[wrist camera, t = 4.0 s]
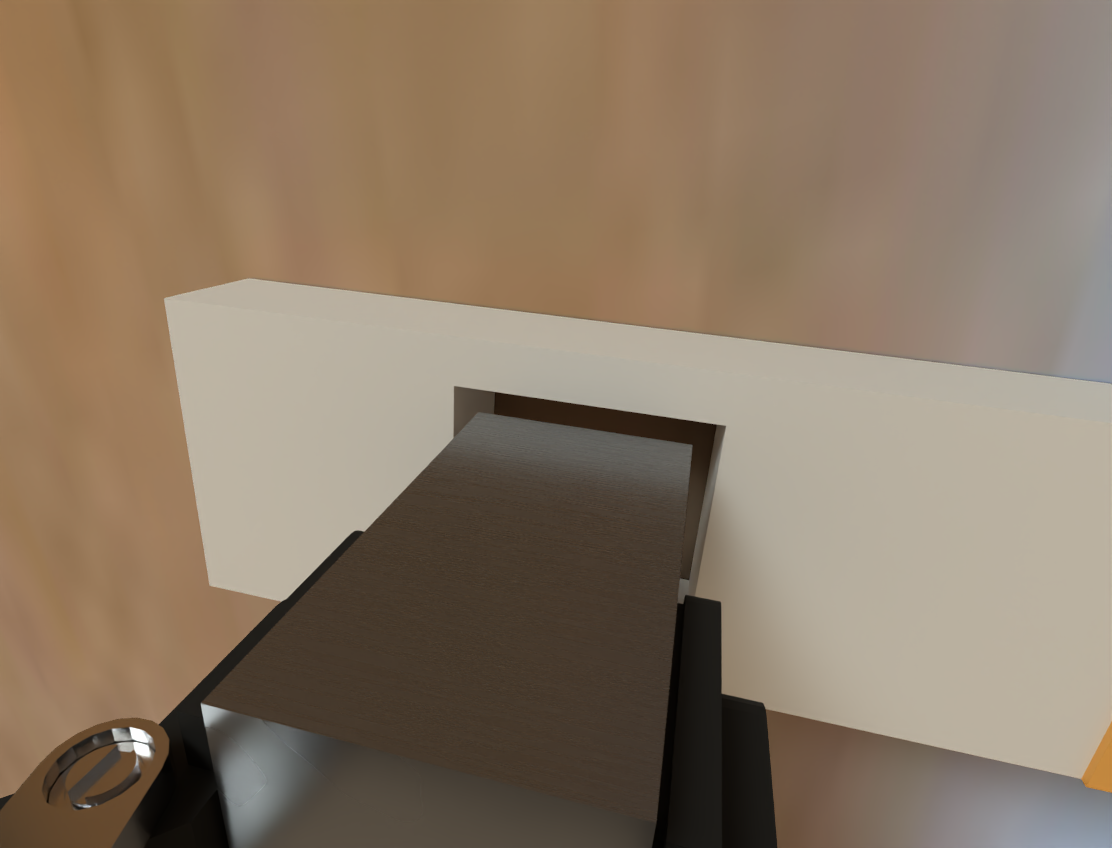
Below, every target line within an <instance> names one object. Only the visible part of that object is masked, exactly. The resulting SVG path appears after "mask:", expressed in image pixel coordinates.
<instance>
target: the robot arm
mask: <svg viewBox="0 0 1112 848" xmlns="http://www.w3.org/2000/svg"><path fill="white" fill-rule="evenodd" d="M364 532H365V531H359V530H357V531H354V532H352V533H351V534H350V535H349V536H348V537H347V538H346V539H345V540H344V541H343V542H342V543H341V544H340V545H339V546H338V547H337V548H336V549H335V550H334V551H333V552H332V553H331V554H330V555H329V556H328V557H327V558H326V559H325V560H324V561H323V562H322V563H321V564H320V565H319V566H318V567H317V568H316V569H315V570H314V571H313V573H312V574H311V575H310V576H309V577H308V578H307V579H306V580H305V581H304V582H303V583H302V584H301V585H300V586H299V587H298V588H297V589H296V590H295V591H294V592H293V593H292V594H291V595H290V596H289V597H288V598H287V599H286V600H283V601H282V602H281V603H280V604H278V605H277V606H276V607H275V608H274V609H273V610H272V611H271V612H270V613H269V614H268V615H267V616H266V617H265V618H264V619H263V620H262V621H261V622H260V623H259V624H258V625H257V626H256V627H255V628H254V629H253V630H252V631H251V632H250V633H249V634H248V635H247V636H246V637H245V638H244V639H243V640H242V641H241V642H240V643H239V644H238V645H237V646H236V647H235V648H234V649H233V650H232V651H231V652H230V653H229V654H228V655H227V656H226V657H225V658H224V659H223V660H222V661H221V662H220V663H219V664H218V665H217V666H216V667H215V668H214V669H213V670H212V671H211V672H210V673H209V674H208V675H207V676H206V677H205V678H204V679H203V680H202V681H201V682H200V683H199V684H198V686H197V687H196V688H195V689H194V690H193V691H192V692H191V693H190V694H189V695H188V696H187V697H186V698H185V699H184V700H183V701H182V702H181V703H180V704H179V705H178V706H177V707H176V708H175V709H174V710H173V711H172V712H171V713H170V714H169V715H168V716H167V717H166V718H165V719H164V720H163V721H162V722H161V723H160V724H159V725H158V724H156V723H155V722H153V721H151V720H146V719H140V718H125V719H116V720H112V721H108V722H105V723H101V724H97V725H95V726H93V727H91V728H88V729H86V730H84V731H82V732H80V733H78V734H76V735H74V736H73V737H71V738H70V739H68V740H67V741H65V742H64V743H62V744H61V745H59V746H58V747H56V748H55V749H54V750H53V751H52V752H51V753H50V754H49V755H48V756H47V757H46V758H45V759H44V760H43V761H42V762H41V763H40V764H39V765H38V766H37V767H36V769H35V770H34V771H33V772H32V773H31V774H30V776H29V777H28V778H27V779H26V780H25V782H24V783H23V784H22V785H21V786H20V788H19V789H18V790H17V791H16V792H15V793H14V794H12V795H9V796H6V797H3V798H0V848H229V845H228V840H227V835H226V830H225V825H224V820H223V815H222V810H221V804H220V799H219V794H218V789H217V784H216V779H215V774H214V769H213V764H212V759H211V754H210V749H209V744H208V739H207V734H206V729H205V724H204V719H203V713H202V708H201V702H202V701H203V700H204V699H205V698H206V697H207V696H208V695H209V694H210V693H211V692H212V691H213V690H214V689H215V688H216V687H217V686H218V684H219V683H220V682H221V681H222V680H223V679H224V678H225V677H226V676H227V675H228V674H229V673H230V672H231V671H232V670H233V669H234V668H235V667H236V666H237V665H238V664H239V662H240V661H241V660H242V659H243V658H244V657H245V656H246V655H247V654H248V653H249V652H250V651H251V650H252V649H253V648H254V647H255V646H256V645H257V644H258V643H259V642H260V640H261V639H262V638H263V637H264V636H265V635H266V634H267V633H268V632H269V631H270V630H271V629H272V628H273V627H274V626H275V625H276V624H277V623H278V622H279V621H280V620H281V618H282V617H283V616H284V615H285V614H286V613H287V612H288V611H289V610H290V609H291V608H292V607H293V606H294V605H295V604H296V603H297V602H298V601H299V600H300V599H301V598H302V596H303V595H304V594H305V593H306V592H307V591H308V590H309V589H310V588H311V587H312V586H313V585H314V584H315V583H316V582H317V581H318V580H319V579H320V578H321V577H322V576H323V574H324V573H325V572H326V571H327V570H328V569H329V568H330V567H331V566H332V565H333V564H334V563H335V562H336V561H337V560H338V559H339V558H340V557H341V556H342V555H343V554H344V552H345V551H346V550H347V549H348V548H349V547H350V546H351V545H352V544H353V543H354V542H355V541H356V540H357V539H358V538H359V537H360V536H361V535H362V534H363V533H364ZM652 848H777V838H776V826H775V814H774V802H773V789H772V777H771V765H770V753H769V741H768V729H767V717H766V710H765V706H764V704H763V703H762V702H757V701H753V700H748V699H744V698H739V697H735V696H730V695H726V694H722V624H721V602H720V601H715V600H710V599H705V598H700V597H695V596H690V595H685V597H684V602H683V604H681V603H677V613H676V623H675V633H674V644H673V654H672V665H671V675H670V686H669V696H668V707H667V717H666V727H665V738H664V748H663V759H662V769H661V780H660V790H659V801H658V811H657V821H656V828H655V833H654V838H653V844H652Z"/></svg>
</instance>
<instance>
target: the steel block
mask: <svg viewBox="0 0 1112 848" xmlns="http://www.w3.org/2000/svg"><path fill="white" fill-rule="evenodd" d="M691 456H692V445H690V444H683V443H677V442H670V441H664V440H657V439H651V438H644V437H638V436H631V435H625V434H618V433H612V432H605V431H599V430H592V429H586V428H579V427H573V426H566V425H560V424H553V423H547V422H540V421H534V420H527V419H521V418H514V417H508V416H501V415H495V414H488V413H482V412H478V413H477V414H476V415H475V416H474V417H473V418H472V419H471V420H470V422H469V423H468V424H467V425H466V426H465V427H464V428H463V429H462V430H461V431H460V432H459V433H458V434H457V435H456V436H455V437H454V438H453V439H452V440H451V441H450V442H449V444H448V445H447V446H446V447H445V448H444V449H443V450H442V451H441V452H440V453H439V454H438V455H437V456H436V457H435V458H434V459H433V460H432V461H431V462H430V463H429V464H428V466H427V467H426V468H425V469H424V470H423V471H422V472H421V473H420V474H419V475H418V476H417V477H416V478H415V479H414V480H413V481H412V482H411V483H410V484H409V485H408V486H407V488H406V489H405V490H404V491H403V492H402V493H401V494H400V495H399V496H398V497H397V498H396V499H395V500H394V501H393V502H392V503H391V504H390V505H389V506H388V507H387V508H386V510H385V511H384V512H383V513H382V514H381V515H380V516H379V517H378V518H377V519H376V520H375V521H374V522H373V523H372V524H371V525H370V526H369V527H368V528H367V529H366V530H365V532H364V533H363V534H362V535H361V536H360V537H359V538H358V539H357V540H356V541H355V542H354V543H353V544H352V545H351V546H350V547H349V548H348V549H347V550H346V551H345V552H344V554H343V555H342V556H341V557H340V558H339V559H338V560H337V561H336V562H335V563H334V564H333V565H332V566H331V567H330V568H329V569H328V570H327V571H326V572H325V573H324V574H323V576H322V577H321V578H320V579H319V580H318V581H317V582H316V583H315V584H314V585H313V586H312V587H311V588H310V589H309V590H308V591H307V592H306V593H305V594H304V595H303V596H302V598H301V599H300V600H299V601H298V602H297V603H296V604H295V605H294V606H293V607H292V608H291V609H290V610H289V611H288V612H287V613H286V614H285V615H284V616H283V617H282V618H281V620H280V621H279V622H278V623H277V624H276V625H275V626H274V627H273V628H272V629H271V630H270V631H269V632H268V633H267V634H266V635H265V636H264V637H263V638H262V639H261V640H260V642H259V643H258V644H257V645H256V646H255V647H254V648H253V649H252V650H251V651H250V652H249V653H248V654H247V655H246V656H245V657H244V658H243V659H242V660H241V661H240V662H239V664H238V665H237V666H236V667H235V668H234V669H233V670H232V671H231V672H230V673H229V674H228V675H227V676H226V677H225V678H224V679H223V680H222V681H221V682H220V683H219V684H218V686H217V687H216V688H215V689H214V690H213V691H212V692H211V693H210V694H209V695H208V696H207V697H206V698H205V699H204V700H203V701H202V702H201V708H202V713H203V719H204V724H205V729H206V734H207V739H208V744H209V749H210V754H211V759H212V764H213V769H214V774H215V779H216V784H217V789H218V794H219V799H220V804H221V810H222V815H223V820H224V825H225V830H226V835H227V840H228V845H229V848H652V844H653V838H654V833H655V828H656V821H657V811H658V801H659V790H660V780H661V769H662V759H663V748H664V738H665V727H666V717H667V707H668V696H669V686H670V675H671V665H672V654H673V644H674V633H675V623H676V613H677V602H678V592H679V581H680V571H681V560H682V550H683V539H684V529H685V519H686V508H687V498H688V487H689V477H690V466H691Z"/></svg>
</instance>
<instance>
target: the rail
mask: <svg viewBox="0 0 1112 848" xmlns="http://www.w3.org/2000/svg"><path fill="white" fill-rule="evenodd" d="M164 301H165V308H166V314H167V320H168V326H169V333H170V339H171V345H172V352H173V358H174V364H175V371H176V377H177V383H178V389H179V396H180V402H181V408H182V415H183V421H184V427H185V433H186V440H187V446H188V452H189V459H190V465H191V471H192V477H193V484H194V490H195V496H196V503H197V509H198V515H199V521H200V528H201V534H202V540H203V547H204V553H205V559H206V565H207V572H208V578H209V584H210V586H214V587H218V588H223V589H227V590H232V591H236V592H241V593H245V594H250V595H254V596H259V597H263V598H268V599H272V600H277V601H281V602H282V601H283V600H286V599H287V598H288V597H289V596H290V595H291V594H292V593H293V592H294V591H295V590H296V589H297V588H298V587H299V586H300V585H301V584H302V583H303V582H304V581H305V580H306V579H307V578H308V577H309V576H310V575H311V574H312V573H313V571H314V570H315V569H316V568H317V567H318V566H319V565H320V564H321V563H322V562H323V561H324V560H325V559H326V558H327V557H328V556H329V555H330V554H331V553H332V552H333V551H334V550H335V549H336V548H337V547H338V546H339V545H340V544H341V543H342V542H343V541H344V540H345V539H346V538H347V537H348V536H349V535H350V534H351V533H352V532H354V531H357V530H359V531H365V530H366V529H367V528H368V527H369V526H370V525H371V524H372V523H373V522H374V521H375V520H376V519H377V518H378V517H379V516H380V515H381V514H382V513H383V512H384V511H385V510H386V508H387V507H388V506H389V505H390V504H391V503H392V502H393V501H394V500H395V499H396V498H397V497H398V496H399V495H400V494H401V493H402V492H403V491H404V490H405V489H406V488H407V486H408V485H409V484H410V483H411V482H412V481H413V480H414V479H415V478H416V477H417V476H418V475H419V474H420V473H421V472H422V471H423V470H424V469H425V468H426V467H427V466H428V464H429V463H430V462H431V461H432V460H433V459H434V458H435V457H436V456H437V455H438V454H439V453H440V452H441V451H442V450H443V449H444V448H445V447H446V446H447V445H448V444H449V442H450V441H451V440H452V439H453V438H454V437H455V436H456V435H457V434H458V433H459V432H460V431H461V430H462V429H463V428H464V427H465V426H466V425H467V424H468V423H469V422H470V420H471V419H472V418H473V417H474V416H475V415H476V414H477V413H478V412H482V413H488V414H494V403H495V392H499V393H506V394H513V395H520V396H526V397H533V398H540V399H547V400H554V401H561V402H567V403H574V404H581V405H588V406H595V407H601V408H608V409H615V410H622V411H629V412H636V413H642V414H649V415H656V416H663V417H670V418H677V419H683V420H690V421H697V422H704V423H711V424H717V427H716V432H715V438H714V444H713V449H712V455H711V460H710V466H709V472H708V477H707V483H706V488H705V494H704V500H703V505H702V511H701V516H700V522H699V528H698V533H697V539H696V544H695V550H694V556H693V561H692V567H691V572H690V578H689V580H686V579H681V578H680V581H679V592H678V602H677V603H681V604H683V602H684V597H685V595H690V596H695V597H700V598H705V599H710V600H715V601H720V602H721V624H722V694H726V695H730V696H735V697H739V698H744V699H748V700H753V701H757V702H762V703H763V704H764V706H765V709H768V710H773V711H777V712H782V713H786V714H791V715H795V716H800V717H804V718H809V719H813V720H818V721H822V722H827V723H831V724H836V725H840V726H845V727H849V728H854V729H858V730H863V731H867V732H872V733H876V734H881V735H885V736H890V737H894V738H899V739H903V740H908V741H912V742H917V743H921V744H926V745H930V746H935V747H939V748H944V749H948V750H953V751H957V752H962V753H966V754H971V755H975V756H980V757H984V758H989V759H993V760H998V761H1003V762H1007V763H1012V764H1016V765H1021V766H1025V767H1030V768H1034V769H1039V770H1043V771H1048V772H1052V773H1057V774H1061V775H1066V776H1070V777H1075V778H1079V779H1082V781H1083V783H1084V784H1085V786H1086V787H1089V788H1093V789H1097V790H1102V791H1106V792H1111V793H1112V384H1109V383H1101V382H1092V381H1084V380H1076V379H1068V378H1060V377H1052V376H1043V375H1035V374H1027V373H1019V372H1011V371H1002V370H994V369H986V368H978V367H970V366H962V365H953V364H945V363H937V362H929V361H921V360H912V359H904V358H896V357H888V356H880V355H871V354H863V353H855V352H847V351H839V350H831V349H822V348H814V347H806V346H798V345H790V344H781V343H773V342H765V341H757V340H749V339H740V338H732V337H724V336H716V335H708V334H700V333H691V332H683V331H675V330H667V329H659V328H650V327H642V326H634V325H626V324H618V323H610V322H601V321H593V320H585V319H577V318H569V317H560V316H552V315H544V314H536V313H528V312H519V311H511V310H503V309H495V308H487V307H479V306H470V305H462V304H454V303H446V302H438V301H429V300H421V299H413V298H405V297H397V296H388V295H380V294H372V293H364V292H356V291H348V290H339V289H331V288H323V287H315V286H307V285H298V284H290V283H282V282H274V281H266V280H258V279H245V280H240V281H236V282H232V283H227V284H223V285H219V286H214V287H210V288H206V289H202V290H197V291H193V292H189V293H184V294H180V295H176V296H171V297H167V298H164Z"/></svg>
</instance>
